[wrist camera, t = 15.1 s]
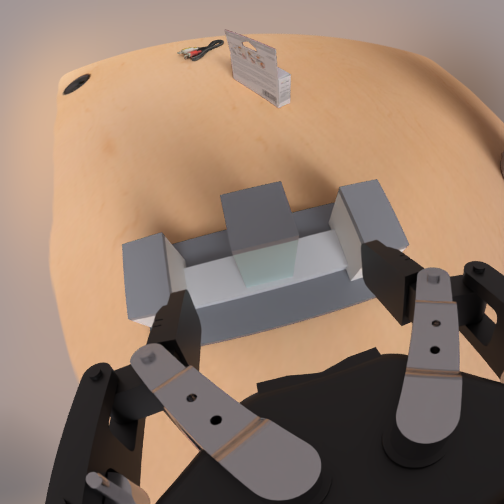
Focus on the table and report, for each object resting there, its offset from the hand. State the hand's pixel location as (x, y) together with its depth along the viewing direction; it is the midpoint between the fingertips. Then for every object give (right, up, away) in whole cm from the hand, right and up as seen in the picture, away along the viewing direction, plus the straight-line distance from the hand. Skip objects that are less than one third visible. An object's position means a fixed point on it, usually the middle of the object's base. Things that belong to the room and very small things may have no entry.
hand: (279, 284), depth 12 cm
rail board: (0, -1, +14) cm, 14 cm away
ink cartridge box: (0, +25, +25) cm, 35 cm away
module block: (0, +1, +12) cm, 12 cm away
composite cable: (-10, +40, +32) cm, 52 cm away
